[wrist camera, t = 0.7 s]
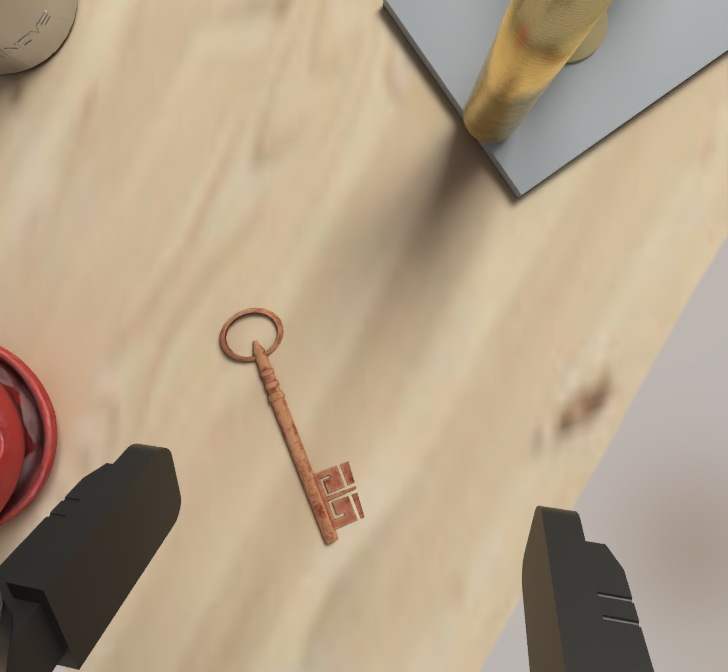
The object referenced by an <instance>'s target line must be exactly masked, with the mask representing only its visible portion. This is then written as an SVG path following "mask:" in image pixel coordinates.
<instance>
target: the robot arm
mask: <svg viewBox="0 0 728 672" xmlns="http://www.w3.org/2000/svg"><path fill="white" fill-rule="evenodd" d="M76 8H77V0H0V74H9V73H18V72H21V71H24V70H27V69H30V68H33V67H34V66H36V65H38V64H40V63H41V62H43V61H45V60H46V59H47V58H48V57H50V56H51V55H52V54H53V53H54V52H55V51H56V50H57V49H58V48H59V47H60V45H61V44H62V42H63V41H64V40H65V38H66V37H67V35H68V33H69V31H70V28H71V26H72V24H73V22H74V18H75V13H76ZM180 506H181V495H180V491H179V486H178V481H177V477H176V472H175V467H174V463H173V458H172V454H171V452H170V450H169V449H167V448H162V447H156V446H149V445H142V444H133V445H131V446H129V447H128V448H127V449H126V450H125V451H124V452H123V454H122V455H121V456H120V457H119V458H118V459H117V460H116V461H115V462H114V463H113V464H109V463H106V464H105V465H103V466H101V467H100V468H98V469H97V470H95V471H94V472H92V473H90V474H89V475H87V476H86V477H84V478H83V479H82V480H81V481H80V482H79V483H78V484H77V485H76V486H75V487H74V488H73V489H72V490H71V491H70V492H69V493H68V494H67V496H66V497H65V500H64V501H61V502H60V503H59V504H58V505H57V506H56V507H55V508H54V509H53V510H52V511H51V512H50V516H49V517H46V518H45V519H44V520H43V521H42V522H41V523H40V524H39V525H38V526H37V527H36V528H35V529H34V530H33V531H32V532H31V533H30V534H29V536H28V537H27V538H26V539H25V540H24V541H23V542H22V543H21V544H20V545H19V546H18V547H17V548H16V549H15V550H14V551H13V552H12V553H11V554H10V556H9V557H8V558H7V559H6V560H5V561H4V562H3V563H2V564H1V565H0V672H52V671H53V670H54V668H55V667H56V665H61V666H65V667H70V668H74V669H78V670H79V669H80V668H81V666H82V665H83V663H84V662H85V660H86V659H87V657H88V656H89V654H90V652H91V651H92V649H93V648H94V646H95V645H96V643H97V642H98V640H99V639H100V637H101V636H102V634H103V633H104V631H105V630H106V628H107V627H108V625H109V623H110V622H111V620H112V619H113V617H114V616H115V614H116V613H117V611H118V610H119V608H120V607H121V605H122V604H123V602H124V601H125V599H126V597H127V596H128V594H129V593H130V591H131V590H132V588H133V587H134V585H135V584H136V582H137V581H138V579H139V578H140V576H141V575H142V573H143V572H144V570H145V568H146V567H147V565H148V564H149V562H150V561H151V559H152V558H153V556H154V555H155V553H156V552H157V550H158V549H159V547H160V546H161V544H162V543H163V541H164V539H165V538H166V536H167V535H168V533H169V532H170V530H171V529H172V527H173V526H174V524H175V522H176V520H177V517H178V515H179V511H180ZM522 590H523V601H524V611H525V623H526V634H527V645H528V656H529V666H530V672H654V670H653V667H652V663H651V660H650V656H649V653H648V649H647V646H646V643H645V639H644V636H643V633H642V629H641V627H639V619H638V616H637V612H636V609H635V606H634V603H632V596H631V592H630V589H629V585H628V582H627V579H626V575H625V572H624V569H623V568H622V567H621V565H620V564H619V562H618V561H617V560H616V558H615V557H614V556H613V554H612V553H611V551H610V550H609V549H608V547H607V546H606V545H605V544H600V543H593V542H587V541H585V537H584V533H583V529H582V524H581V520H580V517H579V514H578V513H577V512H576V511H570V510H563V509H556V508H550V507H543V506H537V507H536V510H535V513H534V517H533V521H532V525H531V529H530V533H529V537H528V541H527V545H526V549H525V553H524V559H523V567H522Z"/></svg>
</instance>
